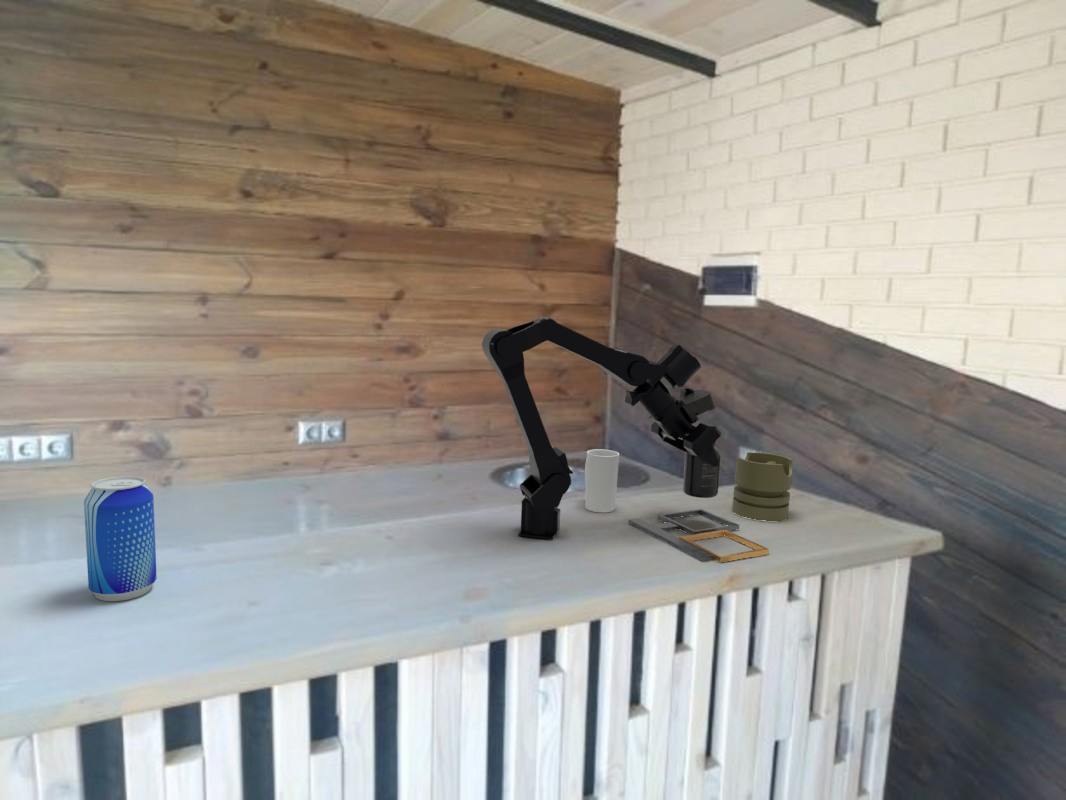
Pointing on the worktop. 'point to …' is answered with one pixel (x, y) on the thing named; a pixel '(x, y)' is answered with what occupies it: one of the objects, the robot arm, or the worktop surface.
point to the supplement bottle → (700, 476)
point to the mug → (601, 480)
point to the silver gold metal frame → (698, 536)
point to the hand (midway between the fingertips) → (708, 461)
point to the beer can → (120, 538)
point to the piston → (762, 486)
